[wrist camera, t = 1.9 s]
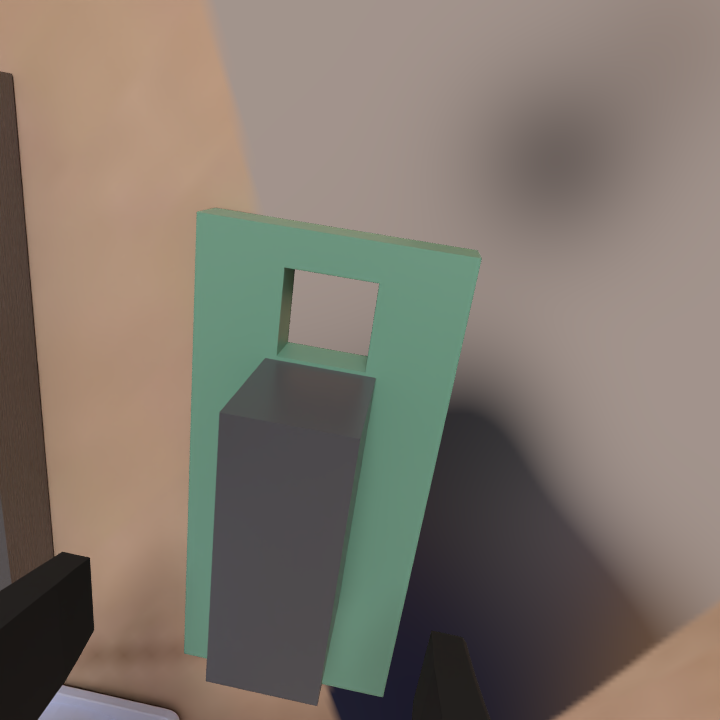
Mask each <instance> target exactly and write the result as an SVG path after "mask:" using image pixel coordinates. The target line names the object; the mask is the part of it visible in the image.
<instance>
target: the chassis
mask: <svg viewBox="0 0 720 720" xmlns="http://www.w3.org/2000/svg"><path fill="white" fill-rule="evenodd" d="M53 557H54V555H53V544H52V532H51V520H50V509H49V497H48V486H47V474H46V463H45V451H44V440H43V428H42V416H41V405H40V393H39V382H38V370H37V359H36V347H35V335H34V324H33V312H32V301H31V289H30V278H29V266H28V255H27V243H26V231H25V220H24V208H23V197H22V185H21V174H20V162H19V151H18V139H17V127H16V116H15V104H14V93H13V81H12V74H10V73H5V72H0V591H1V590H2V589H4V588H5V587H7V586H9V585H10V584H12V583H13V582H15V581H17V580H18V579H20V578H21V577H23V576H24V575H26V574H28V573H29V572H31V571H32V570H34V569H36V568H37V567H39V566H40V565H42V564H44V563H45V562H47V561H48V560H50V559H52V558H53Z"/></svg>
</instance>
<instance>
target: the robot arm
mask: <svg viewBox="0 0 720 720" xmlns="http://www.w3.org/2000/svg"><path fill="white" fill-rule="evenodd" d="M93 631H94V620H93V603H92V586H91V569H90V558H89V557H84V556H79V555H75V554H70V553H65V552H61V553H60V554H58V555H57V556H55V557H53V558H52V559H50V560H48V561H47V562H45V563H44V564H42V565H40V566H39V567H37V568H36V569H34V570H32V571H31V572H29V573H28V574H26V575H24V576H23V577H21V578H20V579H18V580H17V581H15V582H13V583H12V584H10V585H9V586H7V587H5V588H4V589H2V590H1V591H0V720H179V717H178V715H177V714H176V713H175V712H174V711H172V710H169V709H165V708H161V707H156V706H152V705H148V704H143V703H139V702H135V701H130V700H126V699H121V698H117V697H113V696H108V695H104V694H100V693H95V692H91V691H86V690H82V689H78V688H73V687H69V686H65V685H63V683H64V682H65V680H66V679H67V677H68V675H69V674H70V672H71V670H72V669H73V667H74V665H75V663H76V662H77V660H78V658H79V656H80V655H81V653H82V651H83V649H84V647H85V646H86V644H87V642H88V640H89V638H90V637H91V635H92V633H93ZM412 720H491V719H490V717H489V714H488V711H487V709H486V705H485V703H484V700H483V697H482V694H481V691H480V688H479V685H478V682H477V679H476V676H475V672H474V669H473V666H472V662H471V659H470V655H469V652H468V648H467V644H466V642H465V640H464V639H463V638H462V637H459V636H455V635H450V634H445V633H441V632H436V631H431V635H430V639H429V643H428V646H427V651H426V654H425V658H424V662H423V666H422V670H421V674H420V678H419V681H418V686H417V689H416V693H415V697H414V701H413V713H412Z"/></svg>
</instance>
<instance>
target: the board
mask: <svg viewBox="0 0 720 720" xmlns="http://www.w3.org/2000/svg"><path fill="white" fill-rule="evenodd" d="M481 259H482V258H481V256H480V254H479V252H478V251H477V250H472V249H465V248H459V247H453V246H447V245H441V244H435V243H428V242H423V241H416V240H410V239H404V238H398V237H391V236H385V235H379V234H373V233H367V232H361V231H355V230H348V229H343V228H336V227H330V226H324V225H318V224H312V223H306V222H300V221H294V220H287V219H281V218H275V217H269V216H263V215H257V214H251V213H244V212H238V211H232V210H226V209H220V208H212V209H207V210H203V211H198V212H197V222H196V257H195V292H194V327H193V362H192V397H191V432H190V466H189V501H188V536H187V571H186V606H185V641H184V653H185V654H189V655H194V656H198V657H203V658H207V668H206V681H208V682H212V683H217V684H221V685H225V686H230V687H234V688H239V689H243V690H248V691H252V692H257V693H261V694H266V695H270V696H275V697H279V698H284V699H288V700H292V701H297V702H301V703H306V704H310V705H315V706H317V704H318V699H319V695H320V690H321V685H322V684H325V685H329V686H334V687H339V688H344V689H348V690H352V691H357V692H361V693H366V694H370V695H375V696H380V697H383V694H384V689H385V685H386V681H387V676H388V672H389V668H390V663H391V659H392V654H393V650H394V645H395V640H396V637H397V632H398V628H399V623H400V619H401V614H402V610H403V605H404V601H405V597H406V592H407V588H408V583H409V578H410V574H411V570H412V565H413V561H414V556H415V552H416V547H417V543H418V539H419V534H420V529H421V525H422V521H423V517H424V512H425V507H426V503H427V499H428V494H429V490H430V486H431V481H432V476H433V472H434V468H435V463H436V459H437V454H438V450H439V445H440V441H441V436H442V432H443V428H444V423H445V419H446V415H447V410H448V405H449V401H450V396H451V392H452V388H453V384H454V379H455V375H456V370H457V365H458V361H459V357H460V352H461V348H462V343H463V339H464V335H465V330H466V326H467V321H468V317H469V312H470V308H471V303H472V299H473V295H474V290H475V286H476V281H477V277H478V272H479V268H480V263H481ZM295 269H297V270H303V271H309V272H315V273H321V274H327V275H333V276H338V277H344V278H350V279H356V280H362V281H368V282H375V283H379V289H378V295H377V302H376V308H375V315H374V321H373V327H372V333H371V340H370V346H369V352H368V356H363V355H357V354H351V353H346V352H341V351H335V350H329V349H324V348H318V347H312V346H307V345H301V344H295V343H290V342H288V334H289V324H290V314H291V304H292V293H293V283H294V272H295Z"/></svg>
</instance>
